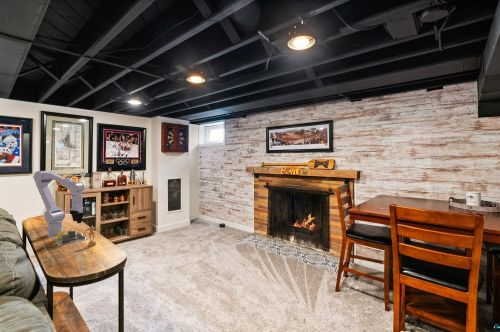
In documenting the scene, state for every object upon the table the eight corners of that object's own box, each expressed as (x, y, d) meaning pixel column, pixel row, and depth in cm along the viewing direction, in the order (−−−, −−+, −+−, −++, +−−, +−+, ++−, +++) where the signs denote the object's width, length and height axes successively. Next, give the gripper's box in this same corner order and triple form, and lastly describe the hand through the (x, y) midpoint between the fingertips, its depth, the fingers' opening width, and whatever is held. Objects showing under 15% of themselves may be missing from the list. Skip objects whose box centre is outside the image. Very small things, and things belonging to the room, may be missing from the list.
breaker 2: (67, 236, 154) (67, 230, 154) (74, 235, 157) (74, 229, 157) (68, 237, 152) (68, 231, 152) (75, 236, 155) (75, 230, 155)
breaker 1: (61, 241, 146) (61, 235, 146) (68, 239, 148) (68, 234, 148) (62, 242, 144) (62, 236, 144) (69, 240, 147) (69, 235, 146)
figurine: (84, 249, 137) (83, 229, 136) (82, 246, 141) (82, 226, 141) (101, 246, 142) (100, 226, 142) (99, 243, 147) (99, 224, 146)
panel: (52, 240, 150) (52, 236, 150) (80, 235, 162) (80, 231, 161) (58, 248, 139) (58, 243, 139) (89, 241, 150) (88, 236, 150)
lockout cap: (64, 237, 153) (64, 230, 153) (66, 238, 151) (66, 232, 151) (56, 238, 150) (56, 232, 150) (59, 240, 148) (58, 233, 148)
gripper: (66, 200, 158) (66, 221, 159) (73, 203, 149) (73, 225, 150) (78, 199, 164) (79, 219, 164) (86, 202, 155) (86, 223, 155)
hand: (77, 222), depth 157 cm, fingers open, 7 cm apart
